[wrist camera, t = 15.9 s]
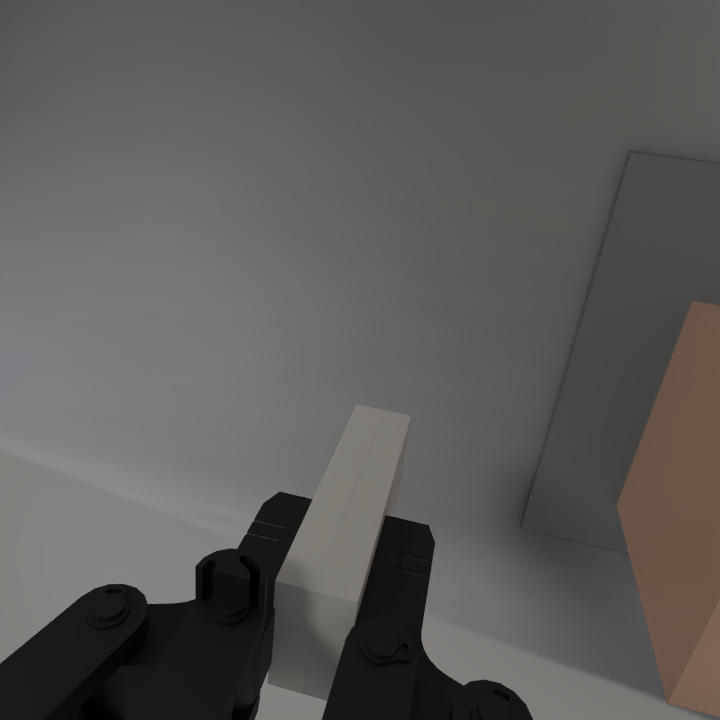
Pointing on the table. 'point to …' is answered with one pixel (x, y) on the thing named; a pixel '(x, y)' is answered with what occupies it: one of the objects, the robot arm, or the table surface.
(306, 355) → the table surface
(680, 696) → the tile
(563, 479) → the mat
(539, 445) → the table surface
